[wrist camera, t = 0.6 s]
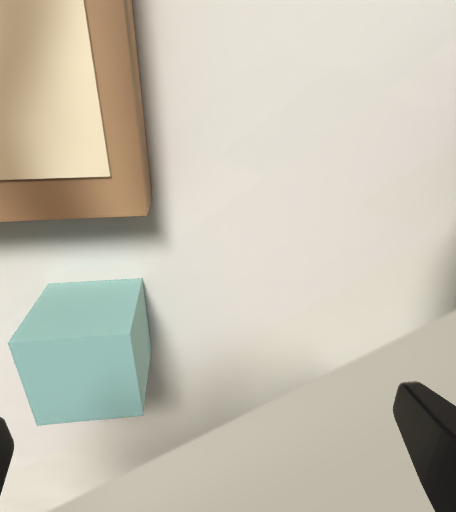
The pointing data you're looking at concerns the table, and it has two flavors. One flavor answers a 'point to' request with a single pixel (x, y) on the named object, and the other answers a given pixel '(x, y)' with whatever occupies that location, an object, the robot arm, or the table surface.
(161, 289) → the table surface
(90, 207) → the base slab
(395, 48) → the table surface
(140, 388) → the teal cube
